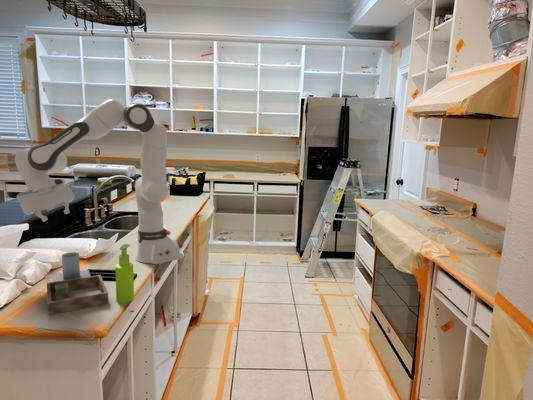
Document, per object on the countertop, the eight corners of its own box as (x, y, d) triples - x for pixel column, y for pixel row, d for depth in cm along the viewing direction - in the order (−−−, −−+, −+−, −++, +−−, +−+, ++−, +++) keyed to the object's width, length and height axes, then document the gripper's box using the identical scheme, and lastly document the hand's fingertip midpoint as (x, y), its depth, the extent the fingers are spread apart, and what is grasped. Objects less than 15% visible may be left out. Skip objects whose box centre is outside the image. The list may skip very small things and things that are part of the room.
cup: (79, 272, 147) (78, 251, 146) (80, 277, 142) (79, 256, 141) (62, 274, 144) (61, 253, 143) (63, 280, 139) (62, 258, 138)
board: (88, 273, 151) (88, 269, 150) (91, 281, 143) (91, 277, 143) (52, 278, 144) (52, 275, 144) (53, 287, 136) (53, 283, 136)
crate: (101, 284, 141) (100, 274, 140) (108, 303, 126) (107, 292, 125) (47, 293, 131) (46, 282, 130) (48, 315, 116) (47, 303, 115)
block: (68, 293, 132) (67, 283, 131) (68, 297, 129) (68, 287, 128) (55, 295, 130) (55, 285, 129) (56, 299, 127) (55, 289, 126)
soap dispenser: (137, 295, 133) (136, 243, 130) (130, 303, 126) (129, 249, 123) (121, 294, 133) (119, 242, 129) (113, 303, 126) (112, 248, 123)
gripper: (17, 191, 139) (34, 223, 139) (67, 178, 155) (82, 206, 156) (11, 197, 142) (28, 227, 143) (61, 183, 159) (76, 211, 160)
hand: (56, 216), depth 150 cm, fingers open, 8 cm apart
